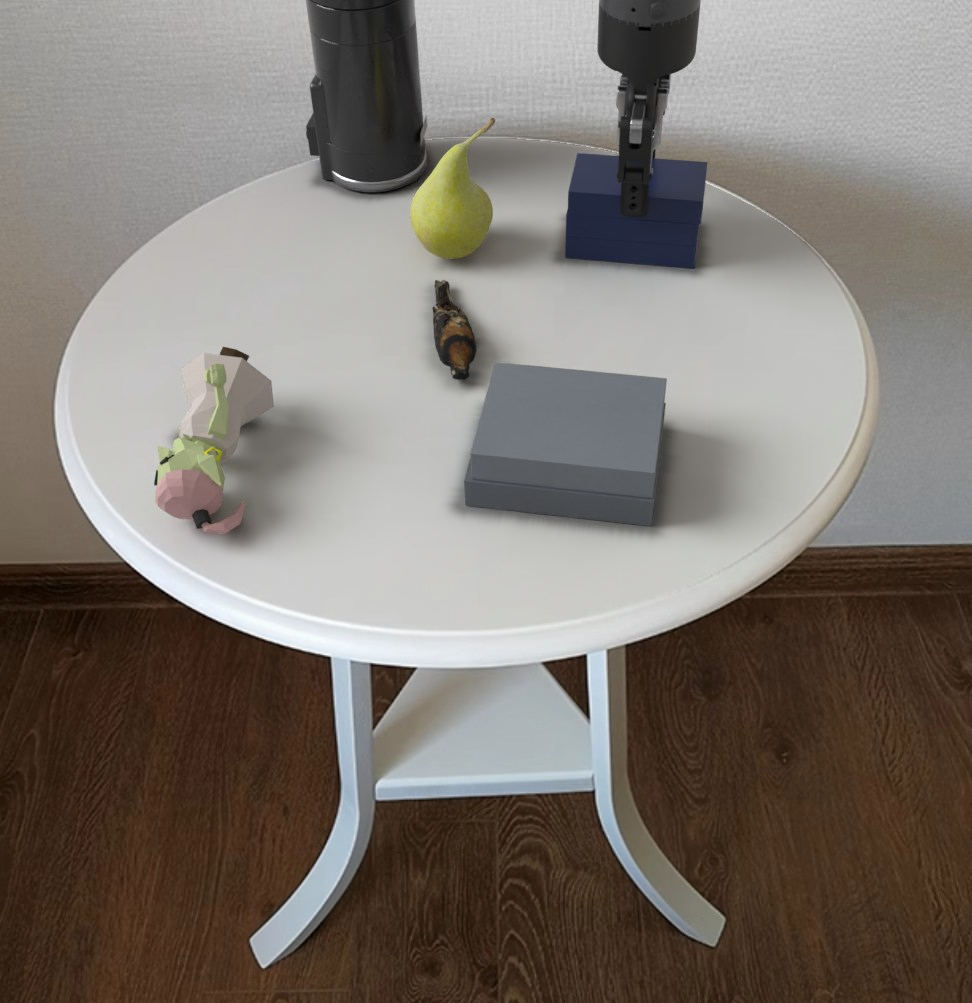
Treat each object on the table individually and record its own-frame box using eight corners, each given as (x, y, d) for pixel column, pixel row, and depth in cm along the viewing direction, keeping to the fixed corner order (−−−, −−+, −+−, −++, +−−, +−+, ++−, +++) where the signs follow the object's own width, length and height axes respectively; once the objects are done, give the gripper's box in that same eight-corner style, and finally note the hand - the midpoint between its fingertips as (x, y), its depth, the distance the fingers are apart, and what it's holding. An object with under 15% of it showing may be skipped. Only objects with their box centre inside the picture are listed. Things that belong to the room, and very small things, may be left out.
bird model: (440, 395, 95) (437, 368, 93) (428, 289, 104) (426, 263, 102) (481, 391, 95) (480, 365, 93) (466, 286, 105) (465, 259, 103)
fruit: (405, 236, 110) (394, 111, 101) (486, 220, 111) (482, 96, 102) (425, 279, 105) (415, 153, 97) (509, 262, 107) (507, 136, 98)
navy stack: (694, 268, 105) (699, 224, 102) (564, 258, 107) (565, 214, 104) (698, 228, 109) (703, 184, 106) (573, 218, 111) (575, 175, 108)
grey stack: (465, 505, 87) (462, 454, 83) (490, 410, 94) (488, 359, 90) (651, 526, 85) (656, 475, 82) (663, 427, 92) (668, 376, 88)
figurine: (205, 308, 88) (144, 466, 79) (302, 349, 91) (254, 508, 81) (174, 381, 95) (114, 536, 85) (265, 418, 97) (217, 573, 87)
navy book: (701, 224, 102) (703, 201, 101) (567, 214, 104) (567, 191, 102) (705, 184, 106) (707, 161, 105) (576, 175, 108) (577, 152, 106)
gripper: (610, -47, 98) (602, 145, 110) (587, 38, 88) (582, 238, 100) (706, -43, 97) (688, 150, 109) (694, 44, 87) (675, 245, 99)
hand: (637, 192), depth 104 cm, fingers closed on navy book, 6 cm apart
